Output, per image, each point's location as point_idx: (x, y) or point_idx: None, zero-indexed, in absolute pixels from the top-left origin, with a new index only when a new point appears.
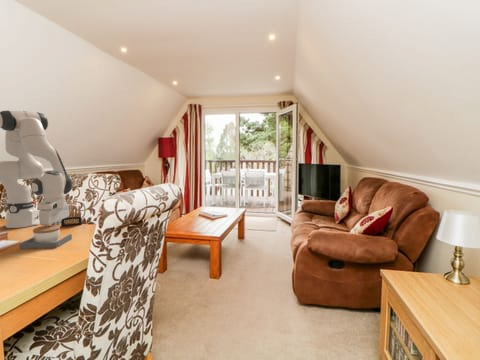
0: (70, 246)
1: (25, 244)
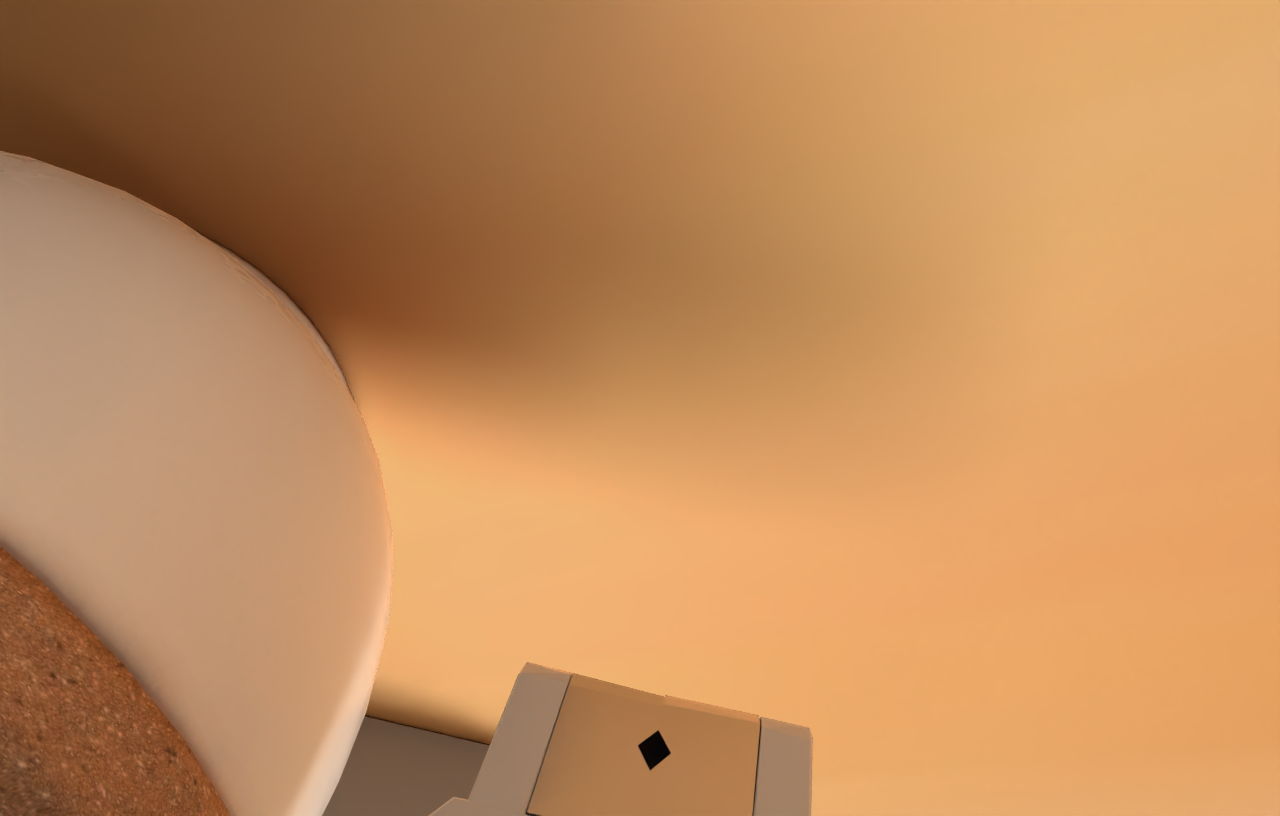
0: None
1: None
